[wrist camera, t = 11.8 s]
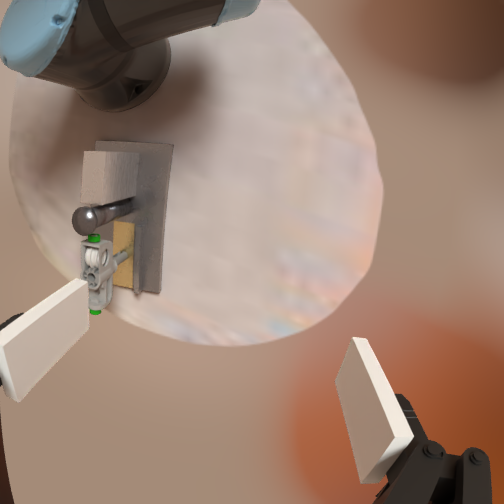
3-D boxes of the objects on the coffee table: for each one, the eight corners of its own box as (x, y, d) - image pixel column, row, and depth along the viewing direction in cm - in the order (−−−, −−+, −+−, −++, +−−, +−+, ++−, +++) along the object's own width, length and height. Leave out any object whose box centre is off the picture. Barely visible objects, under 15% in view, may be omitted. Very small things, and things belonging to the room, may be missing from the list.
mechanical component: (114, 285, 46) (82, 312, 36) (115, 219, 43) (79, 235, 33) (131, 288, 46) (101, 317, 36) (133, 222, 43) (100, 238, 33)
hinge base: (99, 140, 41) (48, 137, 29) (173, 144, 41) (138, 138, 29) (93, 277, 47) (50, 309, 35) (160, 290, 47) (129, 330, 35)
